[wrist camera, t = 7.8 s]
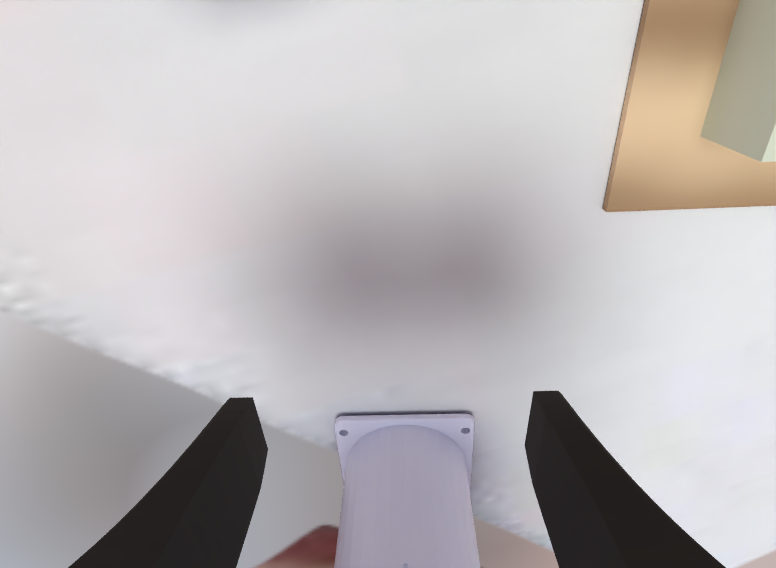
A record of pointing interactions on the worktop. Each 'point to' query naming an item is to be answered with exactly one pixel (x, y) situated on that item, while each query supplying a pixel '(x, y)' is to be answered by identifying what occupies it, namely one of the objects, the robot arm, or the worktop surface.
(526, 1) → the worktop surface
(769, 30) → the sage block
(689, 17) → the cork mat
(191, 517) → the robot arm
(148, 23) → the worktop surface
